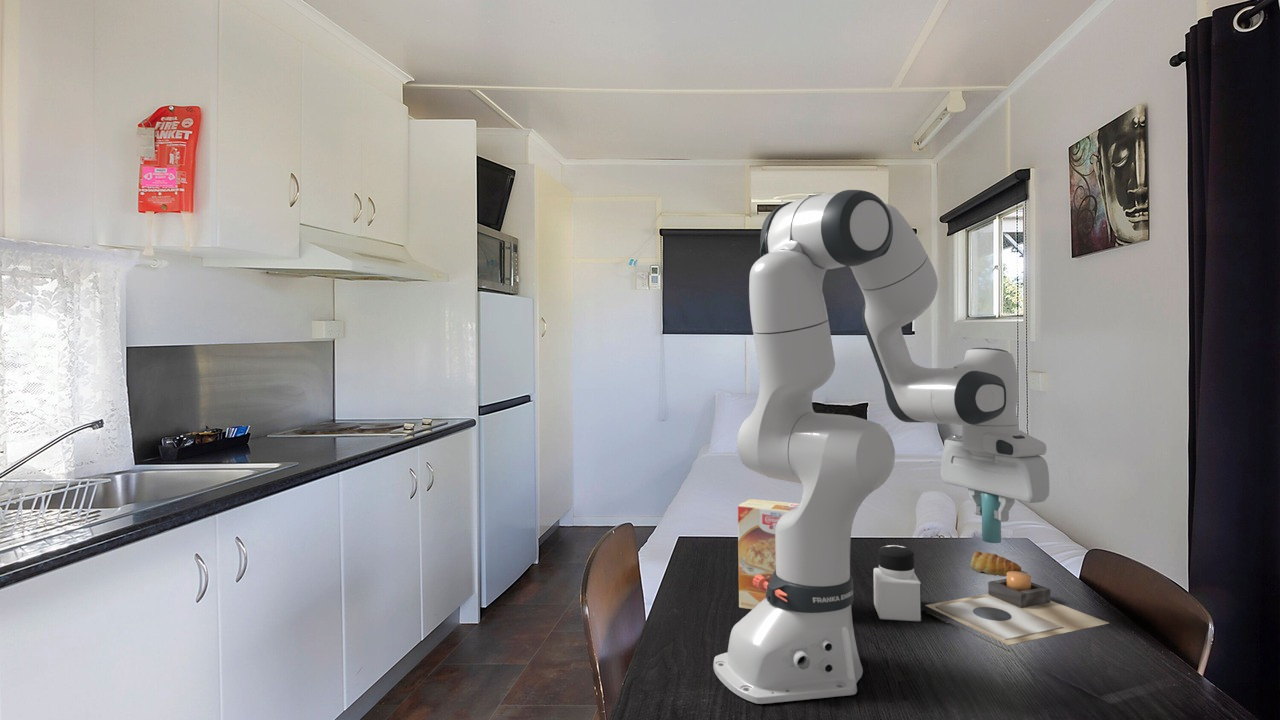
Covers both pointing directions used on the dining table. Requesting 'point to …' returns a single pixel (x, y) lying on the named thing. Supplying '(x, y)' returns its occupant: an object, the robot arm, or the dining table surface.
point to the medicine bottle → (897, 585)
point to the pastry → (993, 564)
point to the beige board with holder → (1015, 614)
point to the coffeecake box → (757, 545)
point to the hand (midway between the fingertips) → (991, 517)
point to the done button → (1019, 580)
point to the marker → (990, 518)
